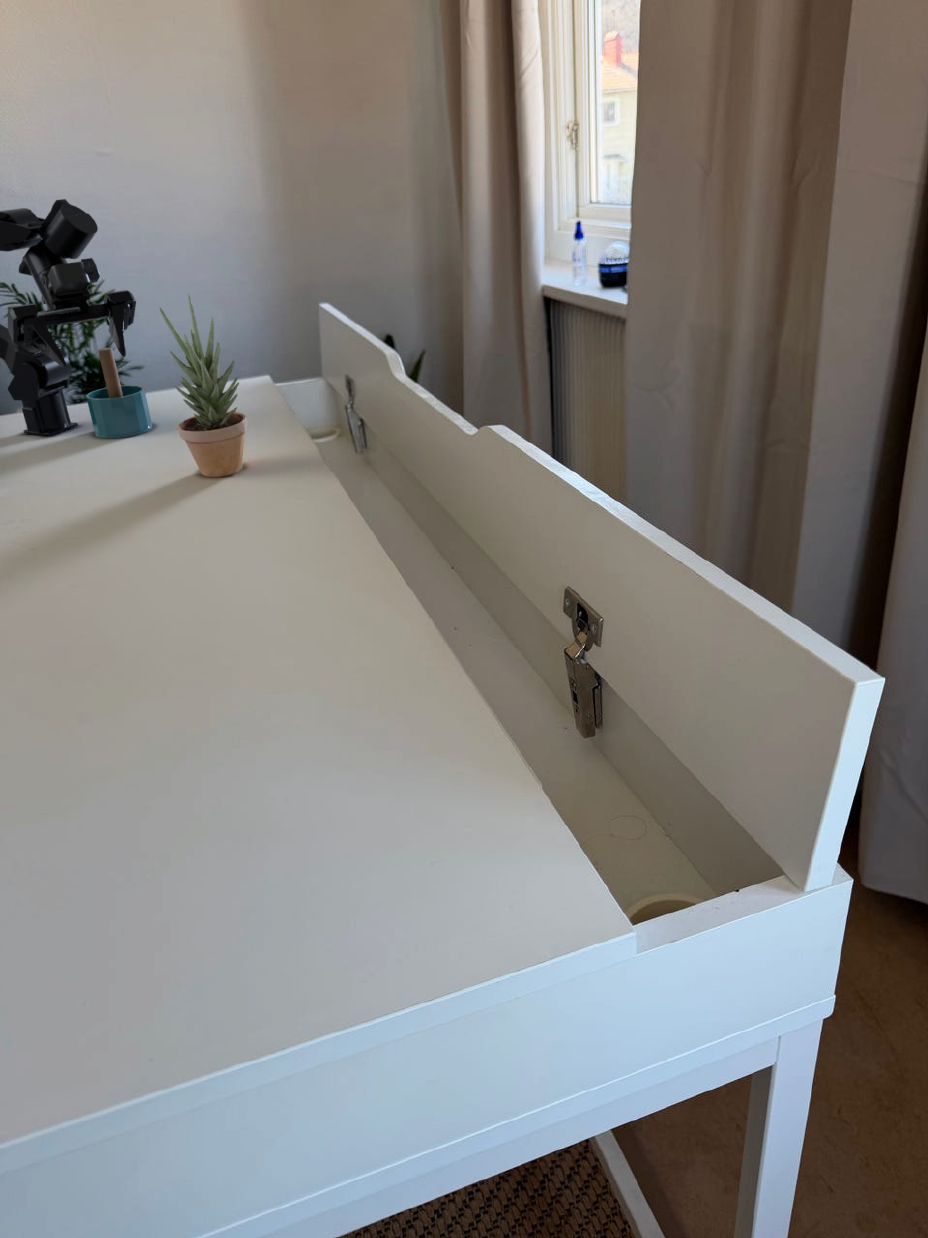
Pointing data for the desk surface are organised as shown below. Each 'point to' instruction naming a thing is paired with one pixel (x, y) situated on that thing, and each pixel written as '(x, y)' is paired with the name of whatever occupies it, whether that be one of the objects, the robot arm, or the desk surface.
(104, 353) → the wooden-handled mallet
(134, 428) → the teal paint pail
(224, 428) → the potted plant
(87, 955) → the desk surface
